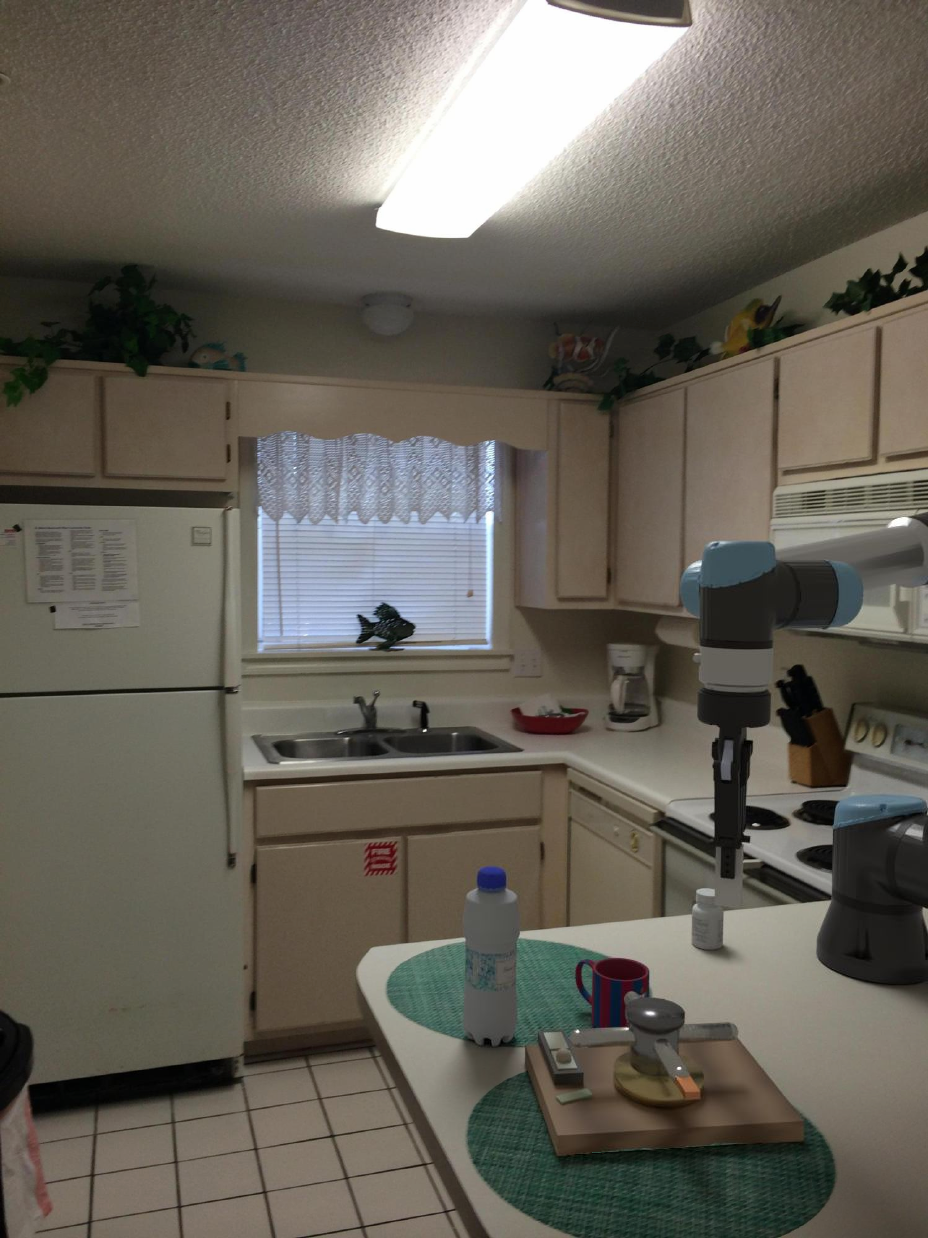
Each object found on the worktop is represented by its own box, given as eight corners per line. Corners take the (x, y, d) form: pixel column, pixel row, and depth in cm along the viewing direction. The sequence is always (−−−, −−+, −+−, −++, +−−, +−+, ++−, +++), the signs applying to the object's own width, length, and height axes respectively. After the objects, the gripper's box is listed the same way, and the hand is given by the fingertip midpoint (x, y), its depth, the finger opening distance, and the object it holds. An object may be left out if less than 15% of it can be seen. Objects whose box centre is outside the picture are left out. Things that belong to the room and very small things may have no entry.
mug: (620, 1044, 112) (621, 986, 112) (560, 1011, 120) (561, 957, 120) (660, 1028, 116) (661, 971, 116) (600, 997, 124) (601, 944, 124)
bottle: (500, 1057, 109) (503, 880, 108) (449, 1041, 112) (451, 870, 111) (529, 1033, 115) (531, 864, 113) (480, 1018, 118) (482, 855, 117)
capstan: (705, 1029, 111) (707, 970, 111) (784, 1134, 91) (786, 1063, 90) (551, 1036, 109) (552, 977, 109) (596, 1146, 89) (598, 1073, 88)
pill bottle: (715, 938, 144) (717, 886, 143) (727, 950, 139) (729, 896, 139) (686, 939, 143) (688, 887, 143) (698, 951, 139) (699, 898, 138)
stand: (732, 1049, 111) (734, 1011, 111) (803, 1141, 94) (805, 1096, 94) (524, 1060, 108) (524, 1021, 108) (557, 1156, 91) (557, 1110, 91)
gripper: (706, 677, 112) (701, 881, 113) (689, 692, 99) (683, 920, 101) (775, 681, 109) (769, 890, 110) (766, 696, 97) (759, 931, 98)
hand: (728, 904), depth 106 cm, fingers closed
